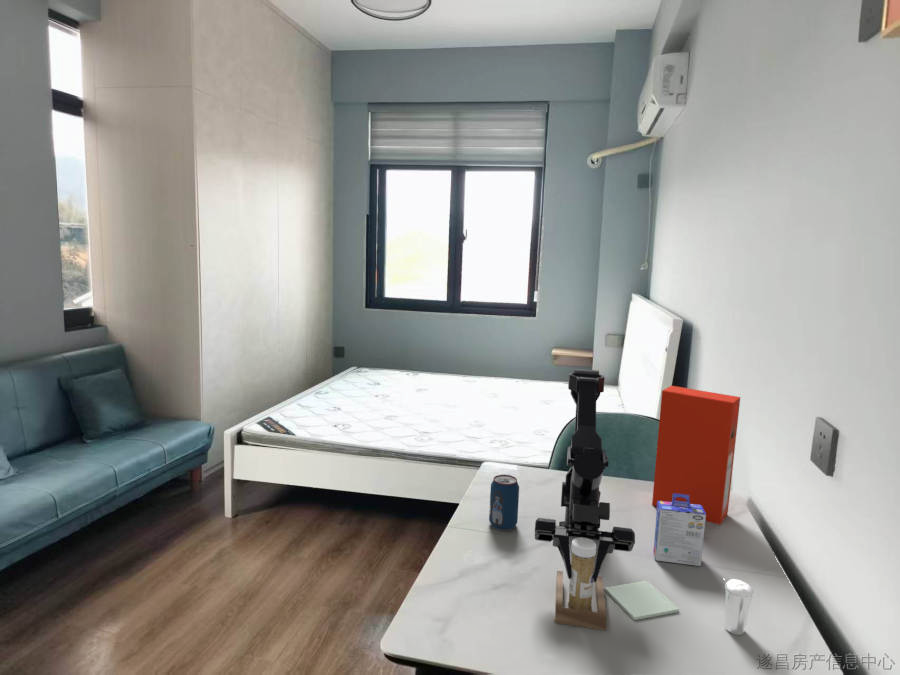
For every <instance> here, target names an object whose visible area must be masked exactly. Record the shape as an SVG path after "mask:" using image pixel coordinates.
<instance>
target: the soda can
mask: <svg viewBox="0 0 900 675" xmlns="http://www.w3.org/2000/svg"><path fill="white" fill-rule="evenodd" d="M519 499H520V484H519V483H518V479H517V477H515V476H513V475H511V474H497V475H495V476H493V480H492V482H491V484H490V493H489V513H488V514H489V516H488V522H489V524H490V525H491V526H492V528H493V529H495V530H497V531H503V532H507V531H512V530H513V529H515V527H516V525H517V524H518V521H519V520H518V516H519V514H518V513H519V503H520V502H519Z"/></svg>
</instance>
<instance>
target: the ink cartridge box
mask: <svg viewBox="0 0 900 675" xmlns="http://www.w3.org/2000/svg"><path fill="white" fill-rule="evenodd" d="M678 497H682V498H685V499H687V501H686V502H684V501H676V500H675V498H678ZM705 520H706V513H705V511H704V509H703V507H702V505H697V504H690V500H689V495H684V494H676V493H673V497H672V502H664V501H657V507H656V515H655V528H654V529H655V531H654V540H653V541H654V542H653V549H652V550H653V551H652V552H653V557H654V560H655V561H657V562H666V563H673V564H679V565H680V564H681V565H689V566H697V567H701V566H702V558H703V548H704V537H705V530H706V529H705V527H706V521H705Z"/></svg>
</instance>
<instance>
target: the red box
mask: <svg viewBox="0 0 900 675" xmlns="http://www.w3.org/2000/svg"><path fill="white" fill-rule="evenodd" d="M740 402H741V396H736V395H735V396H734V395H729V394H724V393H717V392H713V391H712V392H710V391H706V390H699V389H695V388H694V389H693V388H688V387H681V386H677V385H670V386H668V387H667V388H664V389H663V390H662V391H661V400H660V409H659V410H660V412H659V422H658V432H657V434H658V435H657V443H656V444H657V445H656V455H655V456H656V458H655V468H654V479H653V488H652V489H653V492H652V501H651V504H652V506H654V507H656V508H657V501H664V502H672V497H673V493H676V494H684V495H689V500H690V504H697V505H702V507H703V509H704V511H705V513H706V520H705V522H708V523H711V524H715V525H718V526H721V524H722V523H723V522H724V520H725V519H726V517H727V516H728V513H729V507H730V506H729V504H730V495H731V486H732V477H733V467H734V459H735V450H736V443H737V442H736V440H737V431H738V424H739V415H740V406H741V405H740ZM675 500H676V501H684V502H686V501H687V499H685V498H682V497H678V498H675Z"/></svg>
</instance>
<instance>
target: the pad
mask: <svg viewBox="0 0 900 675" xmlns="http://www.w3.org/2000/svg"><path fill="white" fill-rule="evenodd" d="M603 589H604V591H605V593H607V595H608V596H609V597H610V598H611V599H613V601H614V602H615V603H616V604H617V605H618V606H619V607H620V608H621V609H622V610H623V611H624V612H625V613H626V614H627V615H628V616H629V617H631V619H632V620H633V621H638V620H642V619H648V618H654V617H659V616H664V615H670V614H674V613H675V614H676V613H679V612H680V608H679V607H678V606H677V605H675V604H674V603H673V602H672V601H671V600H670V599H668V598H667V597H666V596H665V595H664V594H663V593H662V592H660V591H659V590H658V589H657V588H656V587H655V586H653V584H652V583H651V582H649V580H642V581H635V582H629V583H624V584H618V585H611V586H606V587H604V588H603Z"/></svg>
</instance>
